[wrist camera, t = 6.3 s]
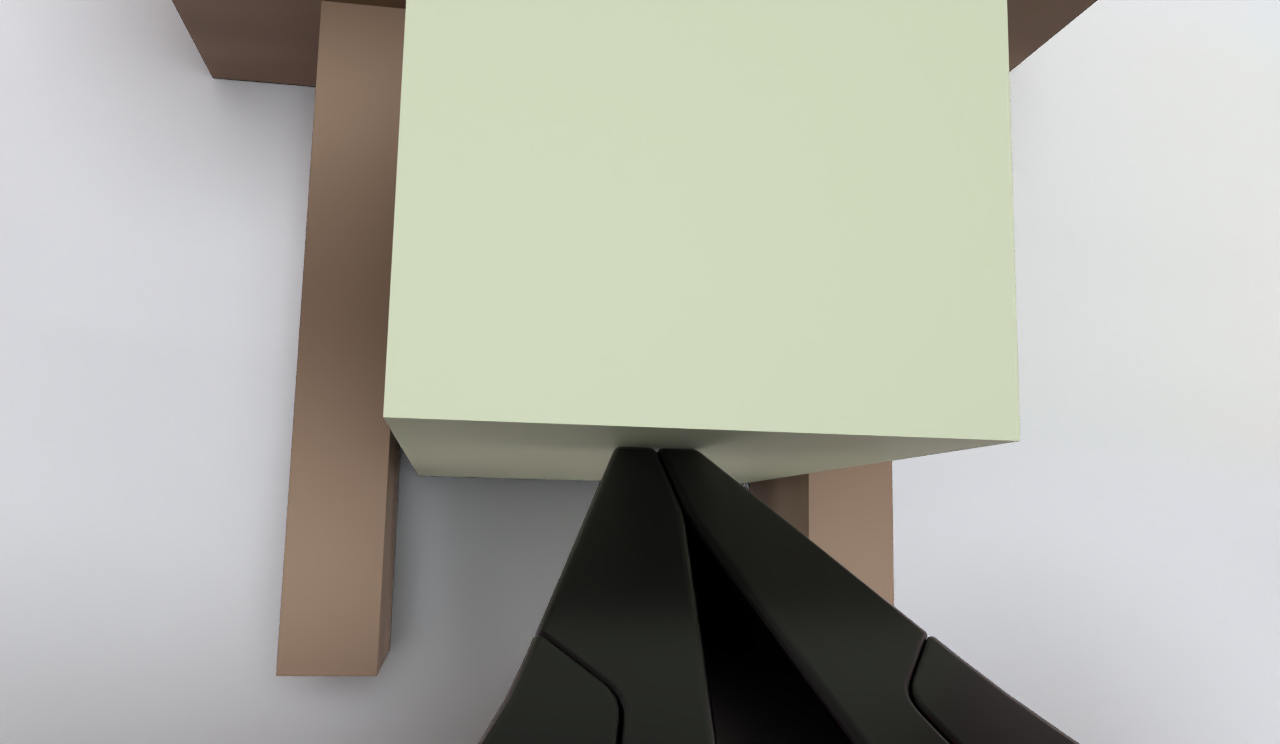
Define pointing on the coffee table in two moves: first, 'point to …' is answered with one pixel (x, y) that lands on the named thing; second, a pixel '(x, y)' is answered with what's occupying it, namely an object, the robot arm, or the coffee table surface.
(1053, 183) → the coffee table surface
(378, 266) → the walnut console
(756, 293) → the pale green block
